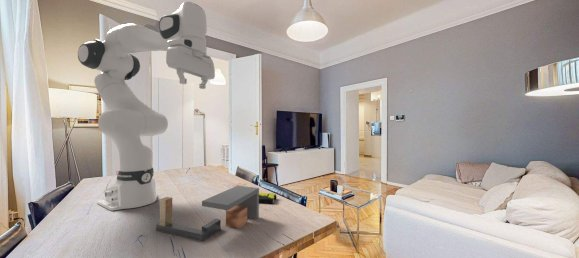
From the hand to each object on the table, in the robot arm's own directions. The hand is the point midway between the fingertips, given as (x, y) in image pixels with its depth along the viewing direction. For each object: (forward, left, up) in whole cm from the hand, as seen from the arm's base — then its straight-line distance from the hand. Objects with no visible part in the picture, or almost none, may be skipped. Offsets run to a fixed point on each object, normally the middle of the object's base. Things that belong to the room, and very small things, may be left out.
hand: (193, 86), depth 78 cm
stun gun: (+14, +18, -48) cm, 53 cm away
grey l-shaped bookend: (+20, -3, -47) cm, 51 cm away
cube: (+20, -1, -47) cm, 51 cm away
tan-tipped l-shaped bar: (+8, -10, -47) cm, 49 cm away
